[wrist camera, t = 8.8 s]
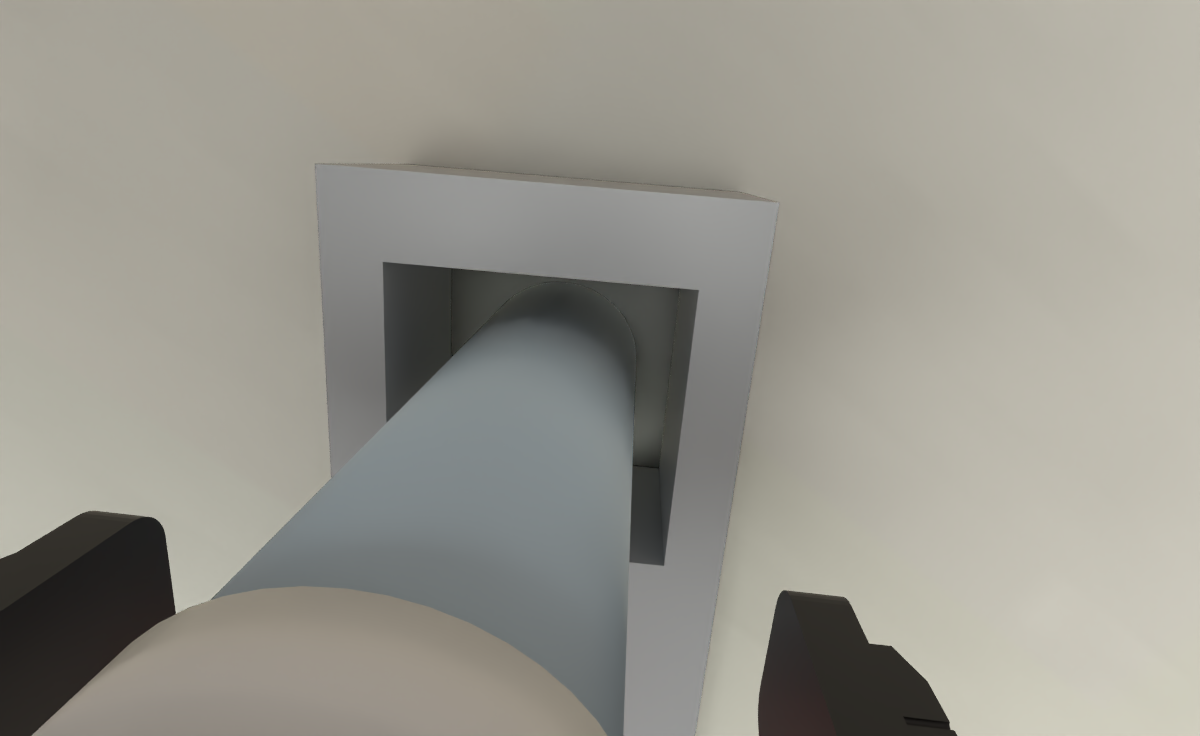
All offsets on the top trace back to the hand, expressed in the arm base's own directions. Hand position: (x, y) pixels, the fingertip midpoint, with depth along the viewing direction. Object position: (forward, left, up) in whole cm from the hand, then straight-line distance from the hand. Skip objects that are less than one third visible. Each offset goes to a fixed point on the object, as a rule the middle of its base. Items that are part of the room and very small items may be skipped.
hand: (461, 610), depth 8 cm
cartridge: (0, 0, -11) cm, 11 cm away
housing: (+5, 0, -11) cm, 12 cm away
